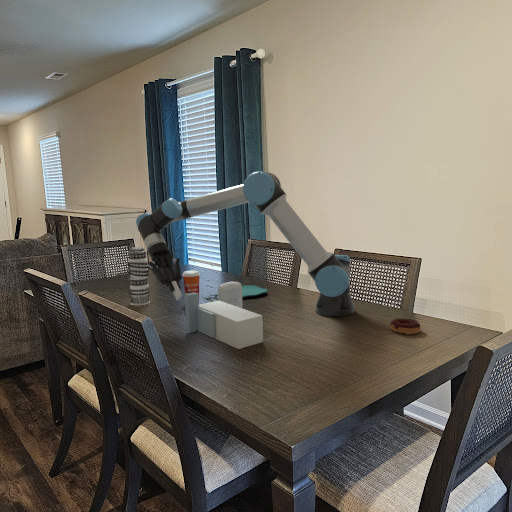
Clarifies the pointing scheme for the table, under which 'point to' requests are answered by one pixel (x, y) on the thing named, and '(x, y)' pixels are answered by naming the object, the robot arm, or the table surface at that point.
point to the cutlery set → (247, 292)
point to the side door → (198, 316)
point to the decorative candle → (138, 276)
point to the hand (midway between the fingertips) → (179, 297)
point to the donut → (405, 326)
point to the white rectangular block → (235, 324)
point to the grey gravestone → (231, 293)
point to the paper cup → (191, 282)
